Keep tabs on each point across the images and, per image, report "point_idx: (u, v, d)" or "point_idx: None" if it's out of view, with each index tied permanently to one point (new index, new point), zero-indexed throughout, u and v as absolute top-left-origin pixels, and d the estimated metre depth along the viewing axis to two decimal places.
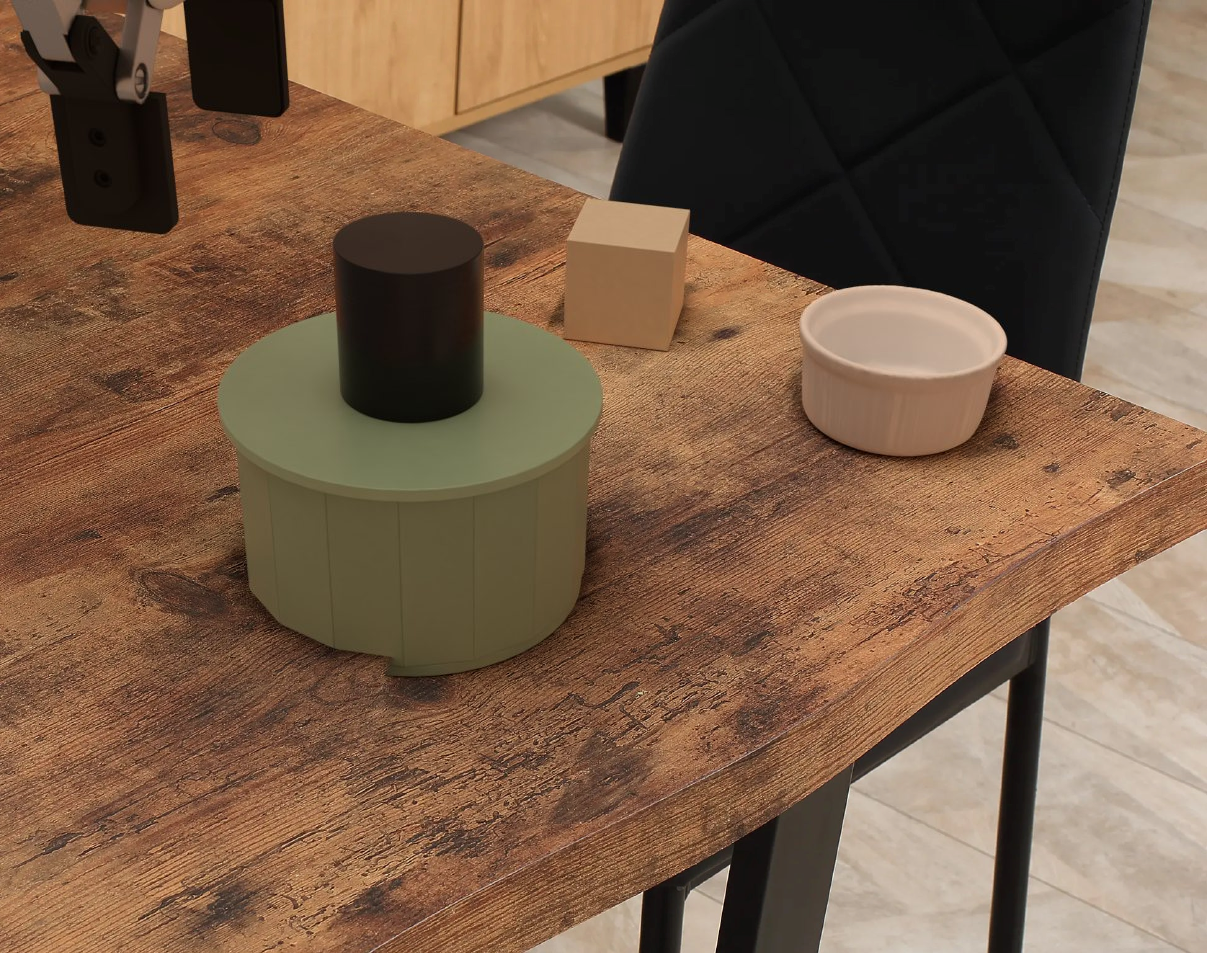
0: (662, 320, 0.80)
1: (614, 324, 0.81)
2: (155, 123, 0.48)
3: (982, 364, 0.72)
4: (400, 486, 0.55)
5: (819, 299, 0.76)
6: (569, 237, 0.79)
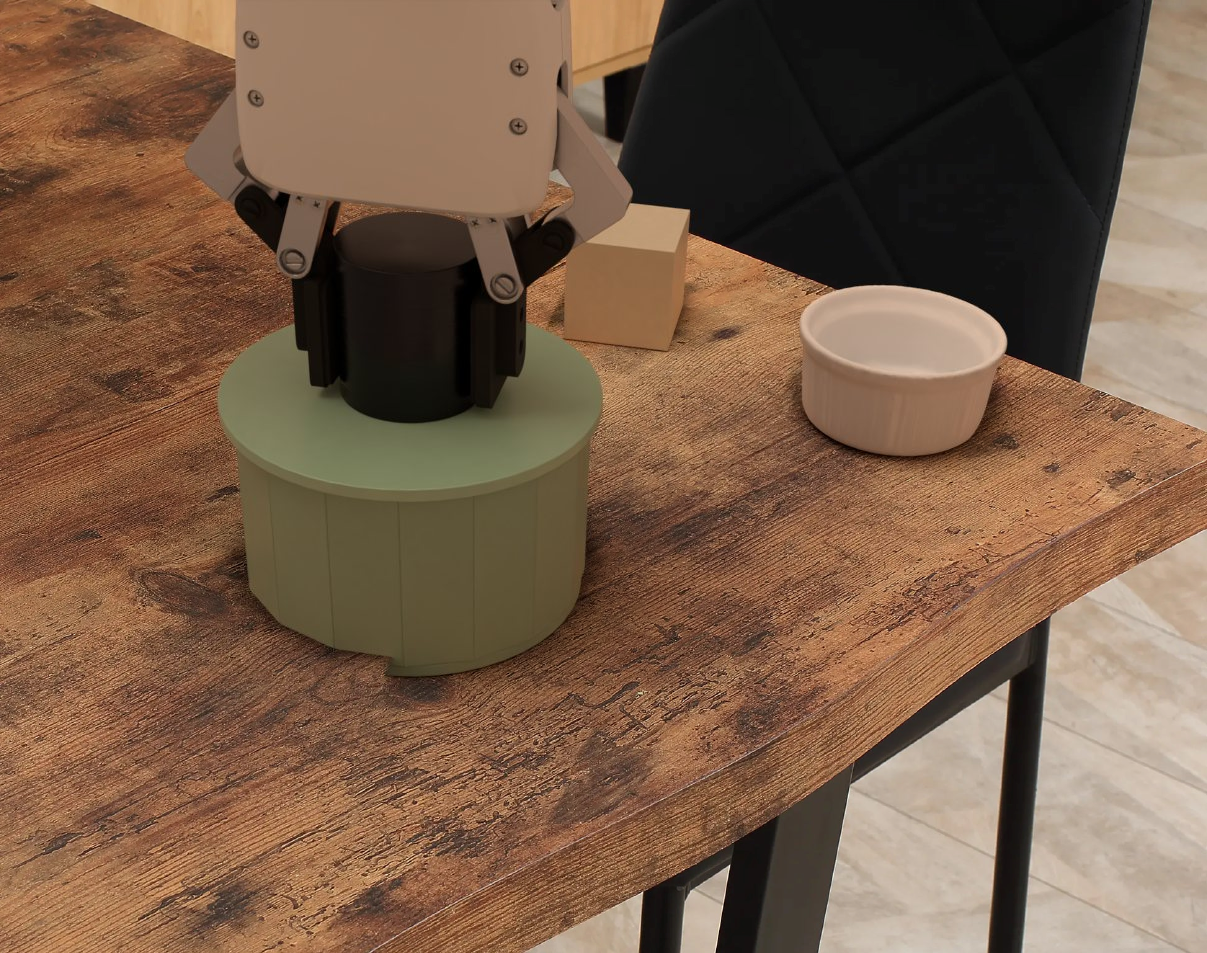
0: (662, 320, 0.80)
1: (614, 324, 0.81)
2: (306, 300, 0.58)
3: (982, 364, 0.72)
4: (400, 486, 0.55)
5: (819, 299, 0.76)
6: None
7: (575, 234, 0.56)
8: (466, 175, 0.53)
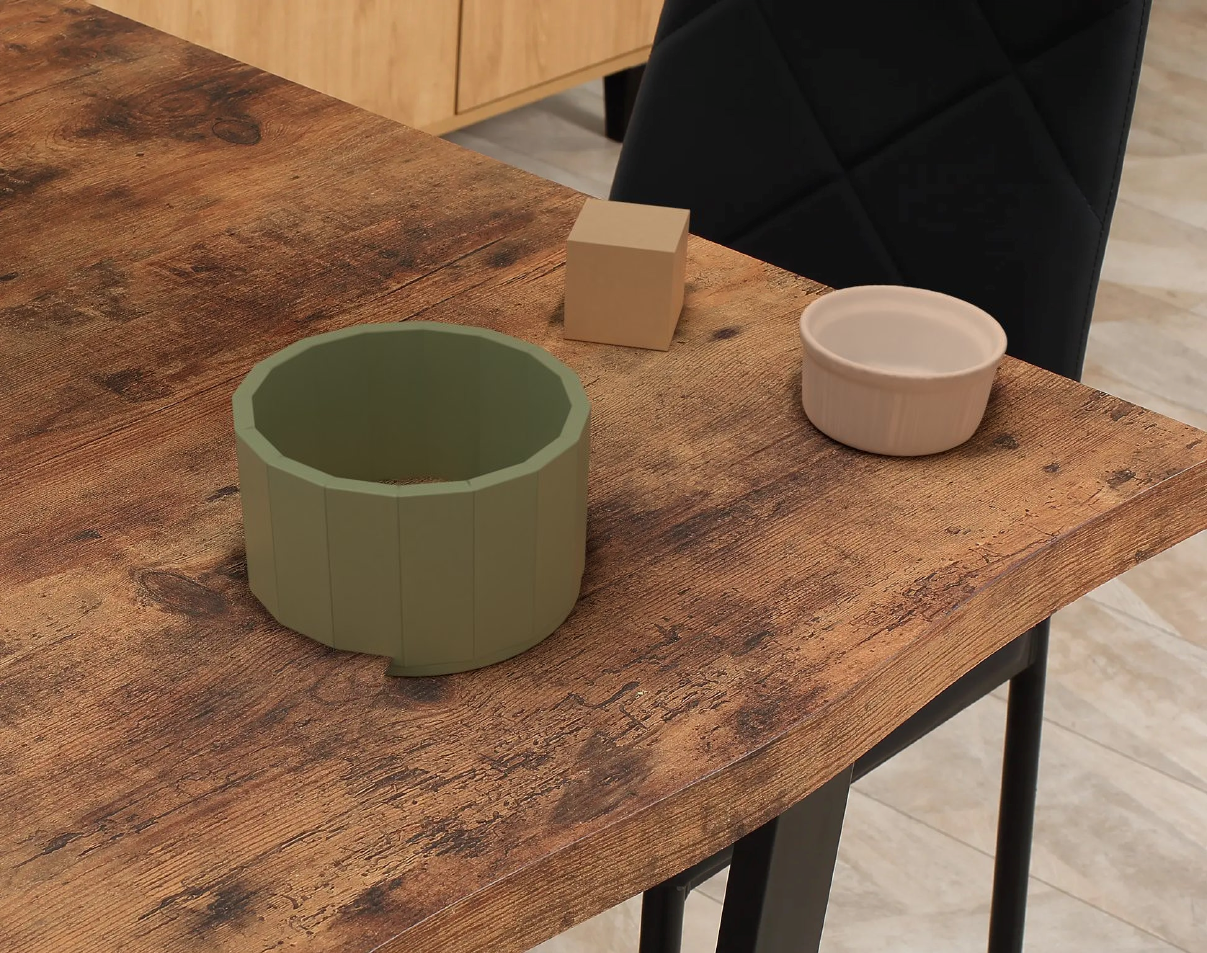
0: (662, 320, 0.80)
1: (614, 324, 0.81)
2: None
3: (982, 364, 0.72)
4: None
5: (819, 299, 0.76)
6: (569, 237, 0.79)
7: None
8: None
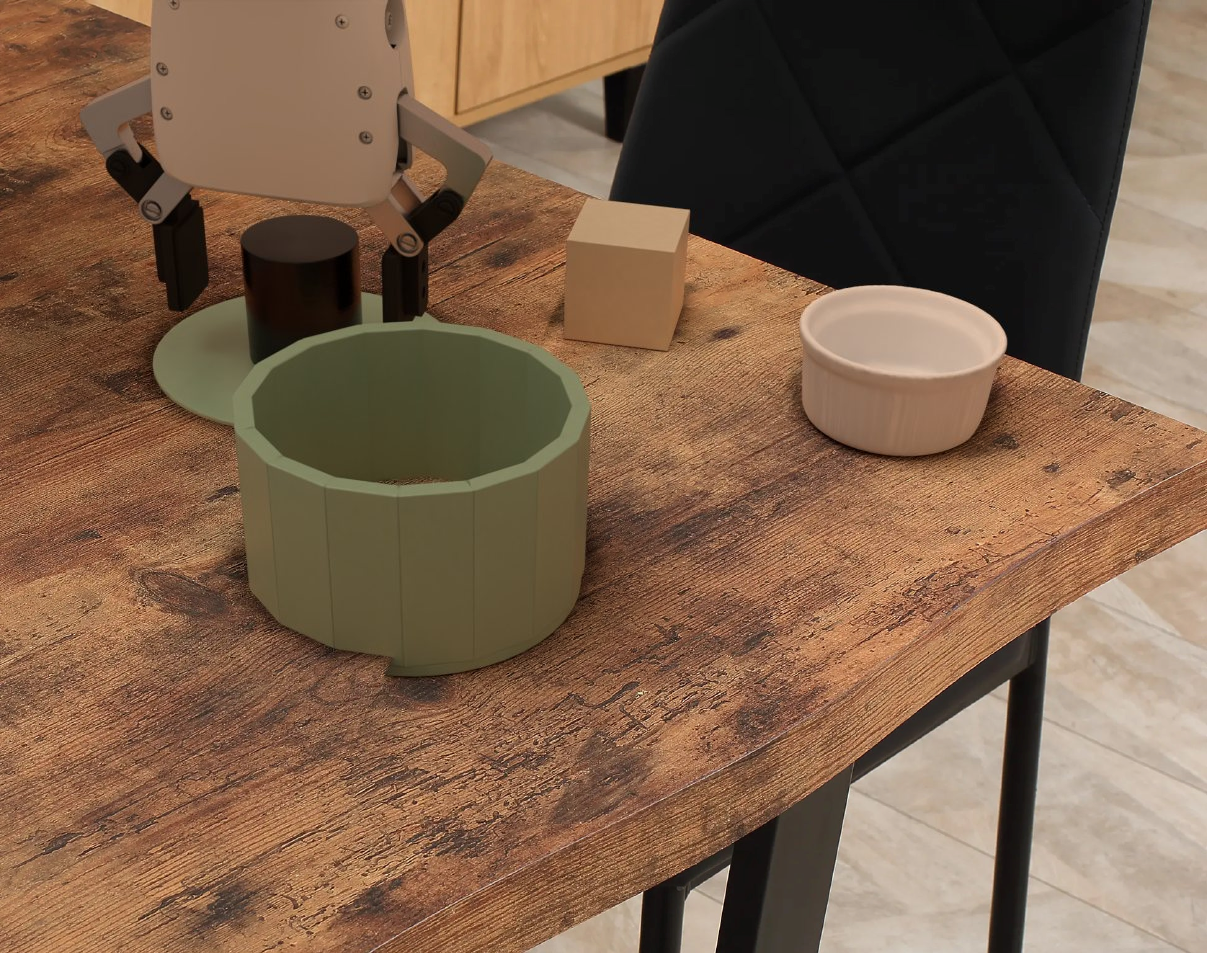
0: (662, 320, 0.80)
1: (614, 324, 0.81)
2: (163, 241, 0.73)
3: (982, 364, 0.72)
4: None
5: (819, 299, 0.76)
6: (569, 237, 0.79)
7: (460, 196, 0.71)
8: (328, 175, 0.69)
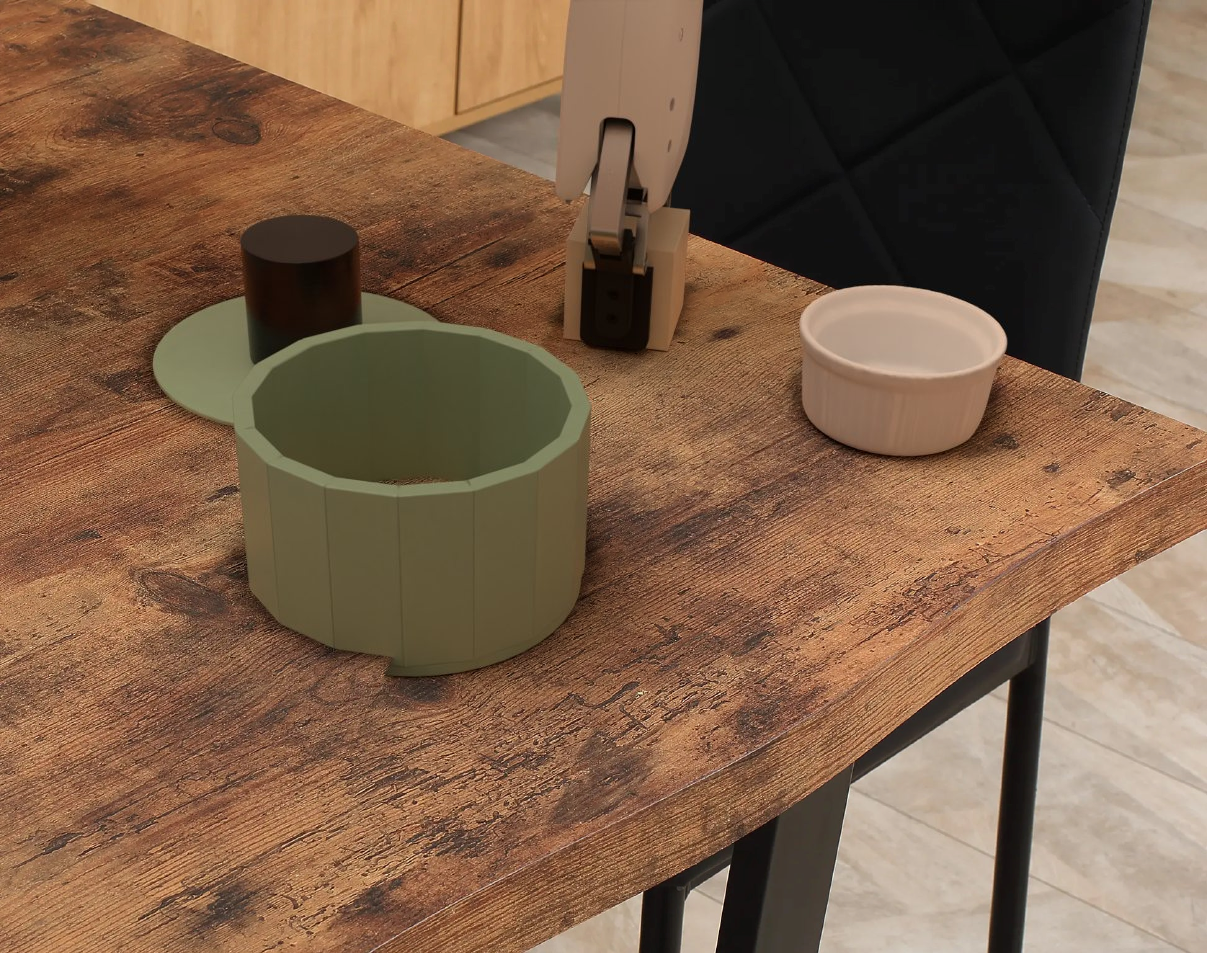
0: (662, 320, 0.80)
1: None
2: (647, 285, 0.78)
3: (982, 364, 0.72)
4: None
5: (819, 299, 0.76)
6: (569, 237, 0.79)
7: None
8: (689, 130, 0.80)
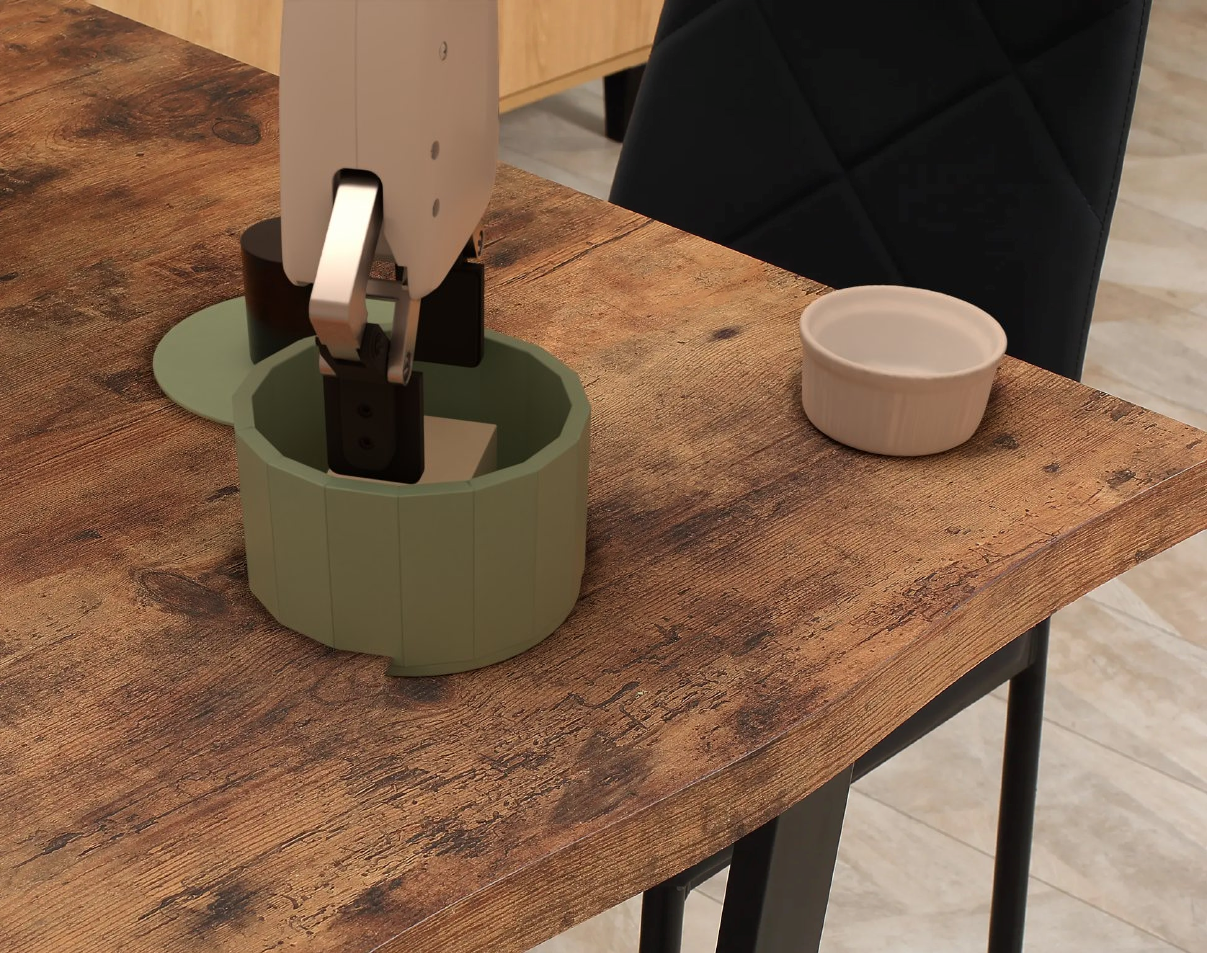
0: None
1: None
2: (414, 398, 0.55)
3: (982, 364, 0.72)
4: None
5: (819, 299, 0.76)
6: (329, 472, 0.60)
7: None
8: (488, 180, 0.58)
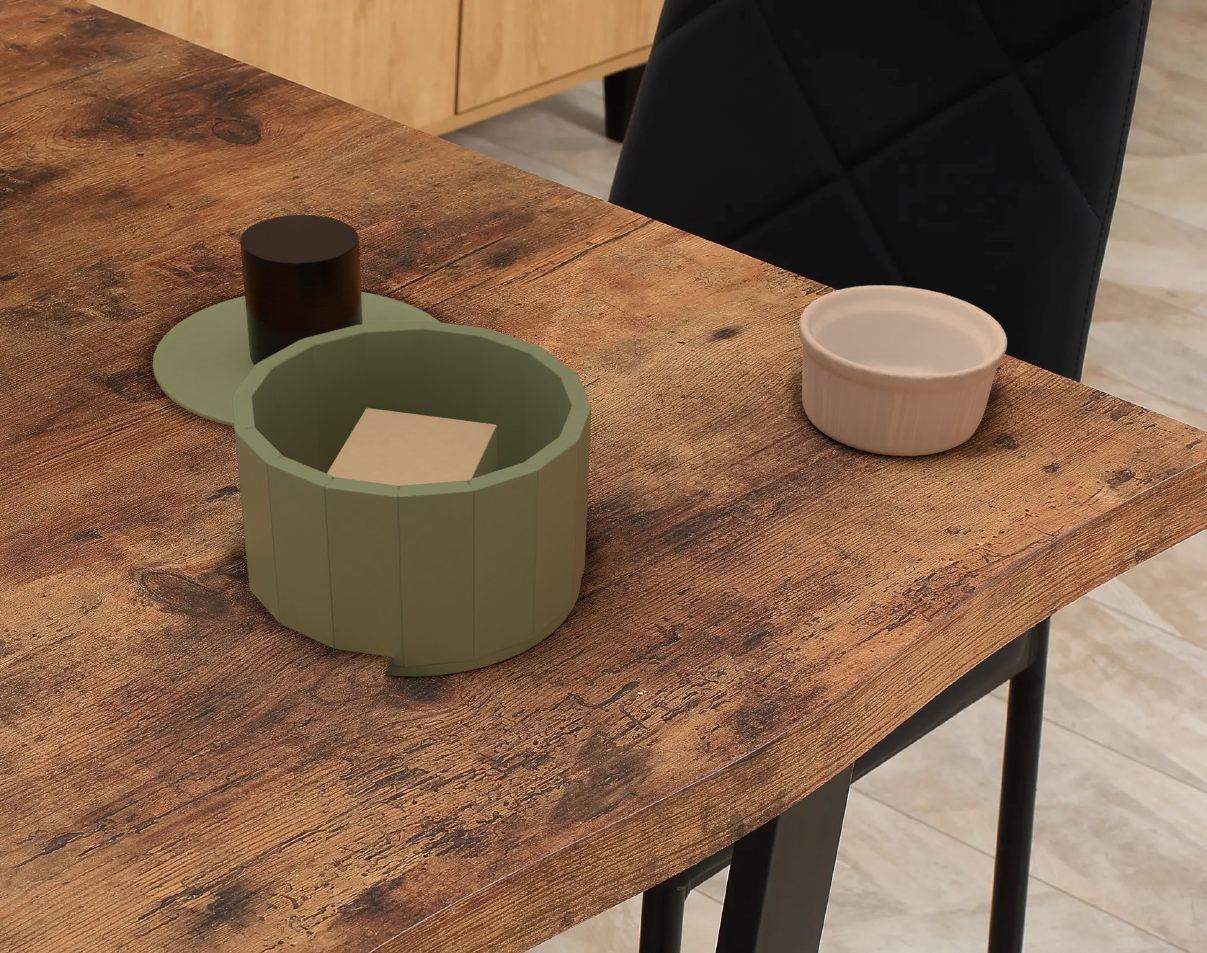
0: None
1: None
2: None
3: (982, 364, 0.72)
4: None
5: (819, 299, 0.76)
6: (329, 472, 0.60)
7: None
8: None
